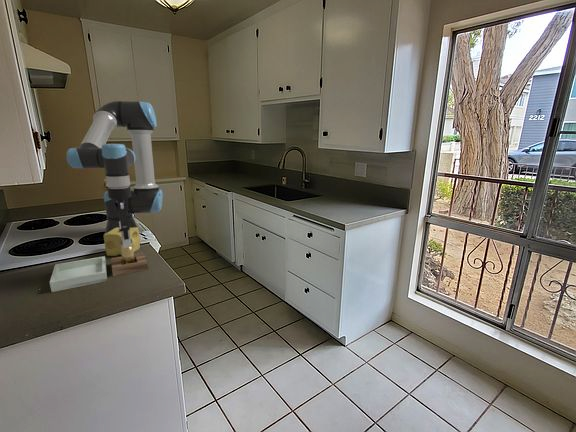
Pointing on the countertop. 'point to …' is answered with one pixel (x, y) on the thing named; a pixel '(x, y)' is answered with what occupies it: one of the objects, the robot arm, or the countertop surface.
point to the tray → (78, 273)
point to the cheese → (114, 239)
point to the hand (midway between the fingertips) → (126, 241)
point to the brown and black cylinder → (127, 254)
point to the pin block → (129, 265)
